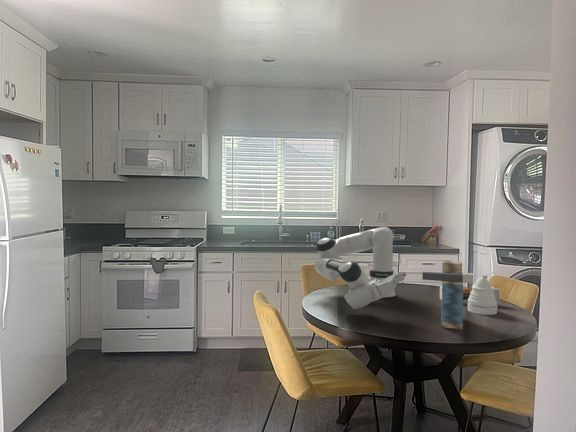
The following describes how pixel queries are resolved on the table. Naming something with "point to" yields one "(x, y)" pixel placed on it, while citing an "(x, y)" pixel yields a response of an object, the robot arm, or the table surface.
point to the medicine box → (496, 295)
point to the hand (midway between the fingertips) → (404, 275)
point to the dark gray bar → (448, 277)
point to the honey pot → (482, 298)
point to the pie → (466, 292)
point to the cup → (364, 268)
